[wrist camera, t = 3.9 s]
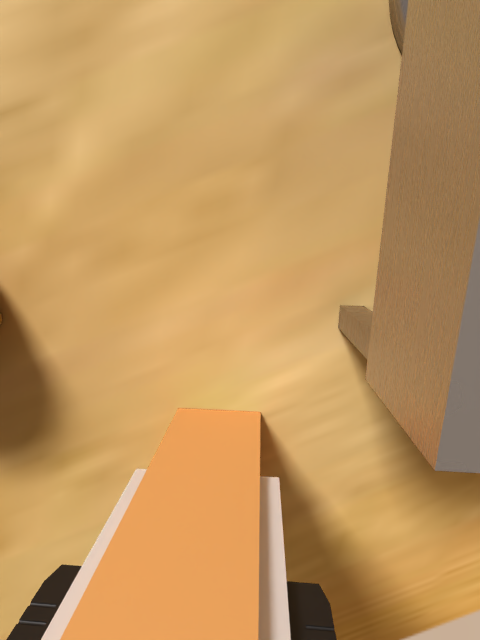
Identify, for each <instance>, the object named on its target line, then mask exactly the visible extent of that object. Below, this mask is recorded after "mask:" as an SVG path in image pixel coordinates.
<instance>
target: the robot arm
mask: <svg viewBox="0 0 480 640" xmlns="http://www.w3.org/2000/svg"><path fill="white" fill-rule="evenodd" d="M146 470H147V469H136V470H135V472H134V474H133V476H132V477H131V479H130V481H129V483H128V484H127V486H126V488H125V490H124V492H123V493H122V495H121V497H120V499H119V501H118V502H117V504H116V506H115V508H114V510H113V511H112V513H111V515H110V517H109V518H108V520H107V522H106V524H105V526H104V527H103V529H102V531H101V533H100V535H99V536H98V538H97V540H96V542H95V544H94V545H93V547H92V549H91V551H90V553H89V554H88V556H87V558H86V560H85V561H84V563H83V565H82V566H73V565H61V566H60V567H59V568H58V569H57V570H56V571H55V572H54V573H53V574H51V575H50V576H49V577H48V578H47V579H46V580H45V581H44V582H43V584H42V585H41V587H40V589H39V590H38V592H37V593H36V595H35V596H34V598H33V599H32V601H31V604H30V606H28V607H27V609H26V610H25V612H24V613H23V615H22V616H21V618H20V621H19V623H18V624H16V626H15V627H14V629H13V630H12V632H11V634H10V635H9V637H8V638H7V640H60V639H61V637H62V635H63V633H64V631H65V629H66V627H67V625H68V623H69V621H70V619H71V617H72V615H73V613H74V611H75V609H76V607H77V605H78V603H79V601H80V600H81V598H82V596H83V594H84V592H85V590H86V588H87V586H88V584H89V582H90V580H91V578H92V576H93V574H94V572H95V570H96V568H97V566H98V564H99V562H100V560H101V558H102V556H103V555H104V553H105V551H106V549H107V547H108V545H109V543H110V541H111V539H112V537H113V535H114V533H115V531H116V529H117V527H118V525H119V523H120V521H121V519H122V517H123V515H124V513H125V511H126V510H127V508H128V506H129V504H130V502H131V500H132V498H133V496H134V494H135V492H136V490H137V488H138V486H139V484H140V482H141V480H142V478H143V476H144V474H145V472H146ZM258 640H336V634H335V631H334V624H333V618H332V613H331V607H330V603H329V602H328V600H327V598H326V596H325V594H324V592H323V591H322V589H321V587H320V585H319V584H312V583H299V582H287V580H286V566H285V552H284V538H283V525H282V511H281V497H280V483H279V477H264V476H260V519H259V622H258Z"/></svg>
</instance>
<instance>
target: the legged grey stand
mask: <svg viewBox="0 0 480 640" xmlns="http://www.w3.org/2000/svg"><path fill="white" fill-rule="evenodd" d="M389 8H390V17H391V23H392V28H393V32H394V35H395V38H396V41H397V44H398V47H399V49H400V51H401V53H402V61H401V69H400V78H399V87H398V96H397V105H396V113H395V122H394V131H393V140H392V149H391V158H390V166H389V175H388V184H387V193H386V202H385V210H384V219H383V228H382V237H381V246H380V254H379V263H378V272H377V281H376V290H375V298H374V307H373V312H372V311H371V310H369V309H367V308H366V307H364V306H340V314H339V325H338V328H339V329H340V330H341V331H342V332H343V334H344V335H345V336H346V337H347V338H348V339H349V340H350V341H351V342H352V344H353V345H354V346H355V347H356V348H357V349H358V350H359V351H360V352H361V353H362V355H363V356H364V357H365V358H366V359H367V369H366V378H365V380H366V381H367V382H368V384H369V385H370V386H371V388H372V389H373V390H374V392H375V393H376V394H377V395H378V397H379V398H380V399H381V401H382V402H383V403H384V405H385V406H386V407H387V409H388V410H389V411H390V413H391V414H392V415H393V417H394V418H395V419H396V420H397V422H398V423H399V424H400V426H401V427H402V428H403V430H404V431H405V432H406V434H407V435H408V436H409V438H410V439H411V440H412V442H413V443H414V444H415V445H416V447H417V448H418V449H419V451H420V452H421V453H422V455H423V456H424V457H425V459H426V460H427V461H428V463H429V464H430V465H431V467H432V468H433V469H434V470H435V471H451V472H468V473H480V0H389Z"/></svg>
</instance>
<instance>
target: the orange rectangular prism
mask: <svg viewBox="0 0 480 640" xmlns="http://www.w3.org/2000/svg"><path fill="white" fill-rule="evenodd" d="M260 417H261V412H246V411H226V410H205V409H185V408H178V410H177V412H176V414H175V416H174V418H173V420H172V421H171V423H170V425H169V427H168V429H167V431H166V433H165V435H164V437H163V439H162V441H161V443H160V445H159V447H158V449H157V451H156V453H155V455H154V457H153V459H152V461H151V463H150V465H149V466H148V468H147V470H146V472H145V474H144V476H143V478H142V480H141V482H140V484H139V486H138V488H137V490H136V492H135V494H134V496H133V498H132V500H131V502H130V504H129V506H128V508H127V510H126V511H125V513H124V515H123V517H122V519H121V521H120V523H119V525H118V527H117V529H116V531H115V533H114V535H113V537H112V539H111V541H110V543H109V545H108V547H107V549H106V551H105V553H104V555H103V556H102V558H101V560H100V562H99V564H98V566H97V568H96V570H95V572H94V574H93V576H92V578H91V580H90V582H89V584H88V586H87V588H86V590H85V592H84V594H83V596H82V598H81V600H80V601H79V603H78V605H77V607H76V609H75V611H74V613H73V615H72V617H71V619H70V621H69V623H68V625H67V627H66V629H65V631H64V633H63V635H62V637H61V639H60V640H258V622H259V519H260Z"/></svg>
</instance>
